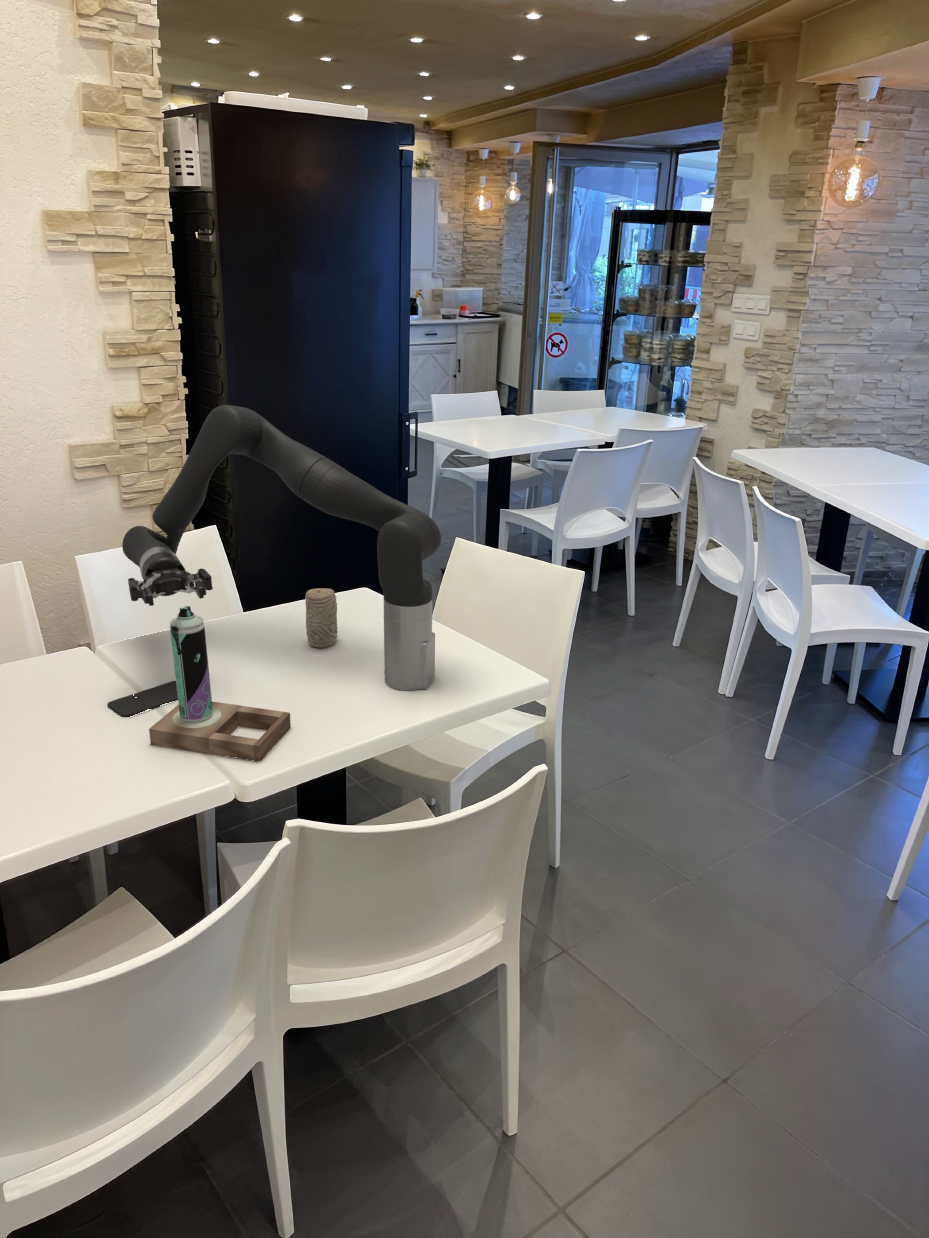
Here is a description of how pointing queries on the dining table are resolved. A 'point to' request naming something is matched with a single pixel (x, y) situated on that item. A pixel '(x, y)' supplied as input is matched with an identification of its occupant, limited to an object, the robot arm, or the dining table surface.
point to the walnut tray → (222, 731)
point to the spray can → (191, 667)
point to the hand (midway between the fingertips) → (176, 596)
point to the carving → (321, 617)
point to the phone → (145, 700)
